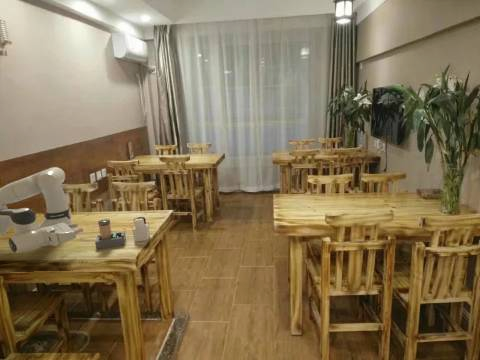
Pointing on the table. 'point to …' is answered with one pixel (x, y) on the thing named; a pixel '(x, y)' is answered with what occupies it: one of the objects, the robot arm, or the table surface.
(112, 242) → the grey rectangular box
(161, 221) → the table surface
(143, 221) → the medicine bottle
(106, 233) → the terracotta jar
